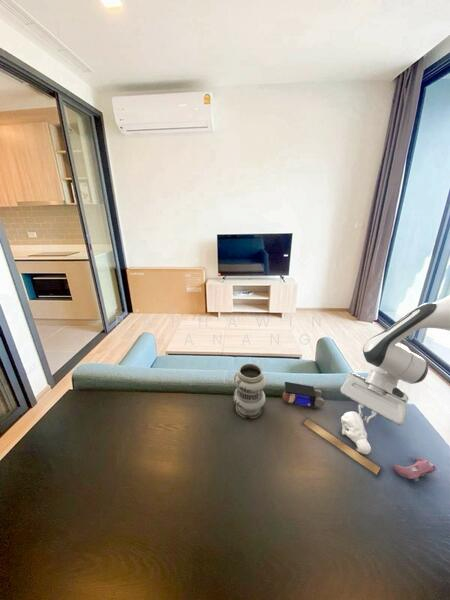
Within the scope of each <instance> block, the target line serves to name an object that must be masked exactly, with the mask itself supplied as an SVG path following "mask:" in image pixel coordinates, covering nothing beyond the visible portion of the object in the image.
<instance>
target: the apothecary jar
mask: <svg viewBox="0 0 450 600" xmlns="http://www.w3.org/2000/svg"><path fill="white" fill-rule="evenodd" d="M233 380H234V384H235V385H236V389H235V390H234V392H233V396H232V397H233V401H234V404H235V410H236V413H237V414H238V415H239V416H240V417H242V418H244V419H248V418H249V419H251V420H252V419H255V418H257V417H259V416H261V414H262V407H263V406H264V405H265V403H266V394H265V392H264V390H263V389H264V388H265V387H266V386H267V376H266V375H265V373H264V372H263V369H262V367H260V366H259V365H257V364H255V363H245V364H242V365H241V366H240V367H239V369H238V370H237V371H236V372H235V374H234V377H233Z"/></svg>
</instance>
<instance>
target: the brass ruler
mask: <svg viewBox="0 0 450 600" xmlns="http://www.w3.org/2000/svg"><path fill="white" fill-rule="evenodd" d="M303 425H304V426H305V427H307V428H308V429H310V430H311V431H313V432H314V433H315V434H317V435H318V436H320V437H321V438H322V439H324V440H326V441H327V442H328V443H329V444H331V445H332V446H334V447H335V448H336V449H338V450H340V451H341V452H342V453H344V454H345V455H347V456H348V457H349V458H351V459H353V460H354V461H355V462H357V463H358V464H360V465H361V466H363V467H364V468H365V469H367V470H368V471H370V472H371V473H373V475H375V476H378V474H379V473H380V470H381V467H380V466H379V465H377V464H376V463H374V462H373V461H371V460H370V459H368V458H367V457H365V456H363V454H362V453H360V452H358V451H356V449H353V448H352V447H350V446H349V445H347V444H346V443H344V442H343V441H341V440H340V439H338V438H337V437H335V436H334V435H333V434H331V433H329V432H328V431H327V430H325V429H324V428H322V427H321V426H319V425H318V424H316V423H315V422H313V421H311V420H310V419H309V418H308V419H306V420H305V421H304V422H303Z"/></svg>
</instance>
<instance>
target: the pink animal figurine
mask: <svg viewBox="0 0 450 600" xmlns="http://www.w3.org/2000/svg"><path fill="white" fill-rule="evenodd" d="M414 462H415V463H413V464H411V465H408V466H402V465H399V464H394V465H393V470H394V472H395V473H397V474H398V475H399V476H401V477H403V478H405V479H408V480H414V481H415V482H417V481H419V480H420V478H419V477H424V476H425V475H426V474H432V473H434V472H436V471H438V468H437V467H436V465H435V464H434V463H433V461H431V460H429V459H425V458H421V457H415V459H414Z"/></svg>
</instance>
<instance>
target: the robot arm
mask: <svg viewBox="0 0 450 600" xmlns="http://www.w3.org/2000/svg"><path fill="white" fill-rule="evenodd" d="M421 329H422V330H423V329H439V330H445V331H450V295H448V296H447V297H445V298H443V299H440V300H438V301H435V302H425V303H423V304H421V305H419V306H417V307H415V308H414V309H413V310H411V311H410V312H408V313H407V314H406V315H404V316H402V317H401V318H400V319H398V320H397V321H396V322H394V323H392V325H390V326H389V327H387V328H386V329H385V330H383V331H381V332H380V333H377V334H376V335H374V336H372V337H370V338H369V339H368V340H366V342H365V343H364V345H363V347H362V352H363V353H362V354H363V356H364V359H365V361H366V362H367V363H368V364H370V365H372V366H373V367H372V368H370V370H369V372H368V374H367V376H366V377H364V376H363V375H359V374H358V373H356V372H353V373H352V372H350V373H348V374H347V375H346V377H345V381H344V383H343V384H342V386H341V387H340V393H341V394H342V395H343V396H345V397H347V398H348V399H350V400H352V401H354V402H356V403H358V404H357V407H358V414H359V415H360V417H361V418H362V420H363V423H364V422H365V423H366V424H369V423H370V421H371V420H373V419H375V418H377V416H378V415H379V416H381V417H383V418H385V419H386V420H388V421H390V422H392V423H394V424H395V425H397V426H399V427H402V426H404V424H405V422H406V418H407V416H408V405H407V404H408V403H409V400H410V398H409V396H408V395H407V393H406V392H404V391H403V390H402V389H400V387H398V384H399V381H402V382H404V383H408V384H411V385H413V384H418V383H421V382H423V381H424V380H425V379H426V377H427V375H428V372H429V366H428V362H427V361H426V359H424V358H423V357H421V356H420V355H418V354H417V353H414V352H413V351H411V350H410V348H409V347H408V346H407V345H405V344H403V343H401V341H402V340H404V339H406V338H407V337H409V336H410V335H412V334H413V333H414V332H416V331H419V330H421ZM365 408H366V409H368V410H370V411H371V412H370V413H371V414H370V415H369V416H367V415H365V414H363V411H362V410H364V409H365Z"/></svg>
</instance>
